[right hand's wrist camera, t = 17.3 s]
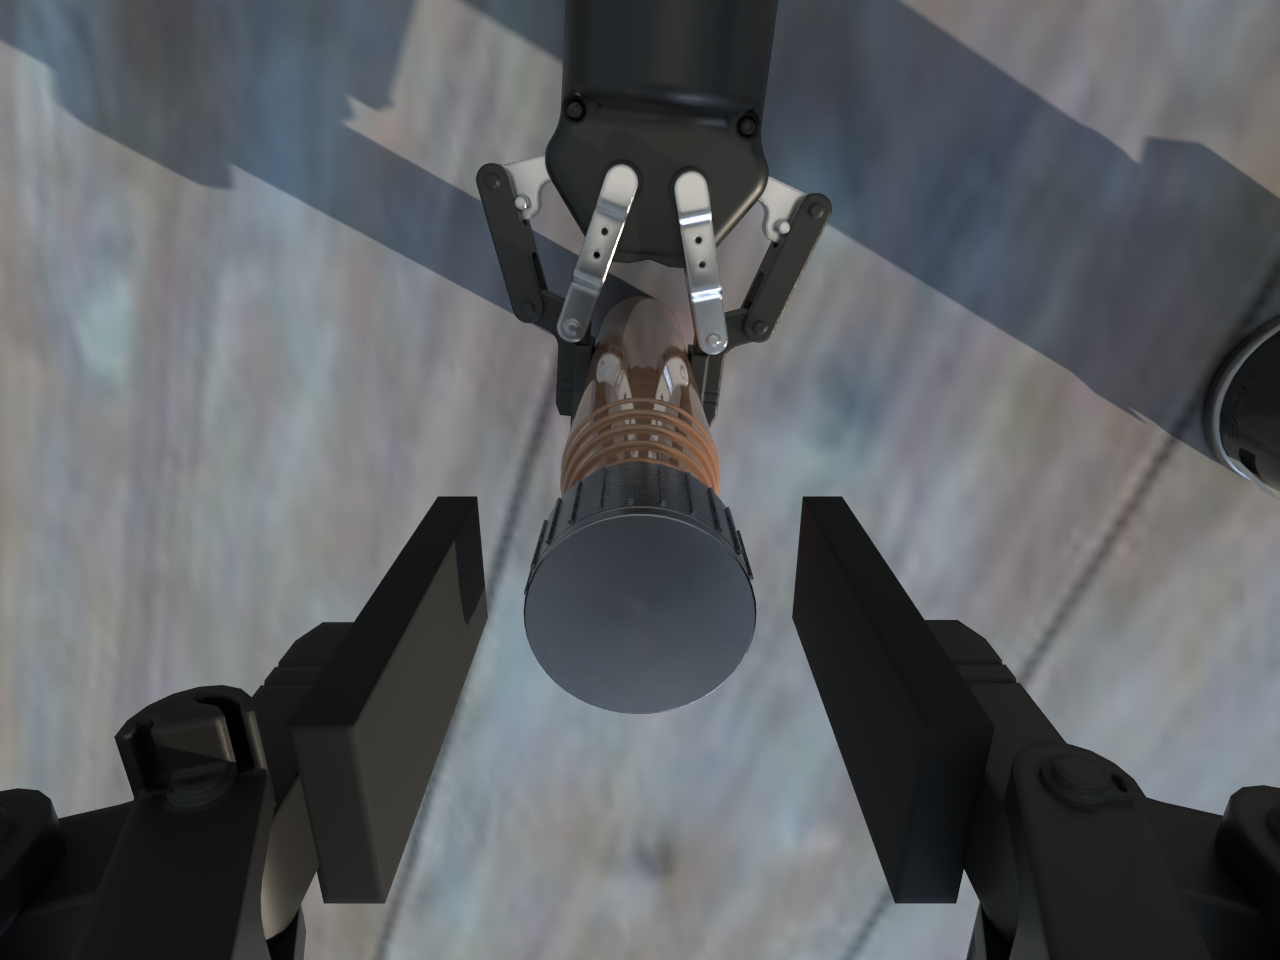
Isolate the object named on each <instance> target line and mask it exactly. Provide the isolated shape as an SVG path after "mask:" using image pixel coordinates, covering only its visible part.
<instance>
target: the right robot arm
mask: <svg viewBox="0 0 1280 960" xmlns="http://www.w3.org/2000/svg"><path fill="white" fill-rule="evenodd" d="M487 618H488V615H487V603H486V592H485V581H484V569H483V558H482V547H481V535H480V524H479V513H478V501H477V497H437V499H436V500H435V502H434V503H433V505H432V506H431V508H430V509H429V511H428V512H427V514H426V515H425V517H424V518H423V520H422V521H421V523H420V524H419V526H418V527H417V529H416V530H415V532H414V533H413V535H412V536H411V538H410V539H409V541H408V542H407V544H406V545H405V547H404V548H403V550H402V551H401V553H400V554H399V556H398V557H397V559H396V560H395V562H394V563H393V565H392V566H391V568H390V569H389V571H388V572H387V574H386V575H385V577H384V578H383V580H382V581H381V583H380V584H379V586H378V587H377V589H376V590H375V592H374V593H373V595H372V596H371V598H370V599H369V601H368V602H367V604H366V605H365V607H364V608H363V610H362V611H361V613H360V614H359V616H358V617H357V619H356V620H355V622H323V623H321V624H320V625H318V626H317V627H315V628H314V629H312V630H311V631H309V632H308V633H306V634H305V635H303V636H302V637H300V638H299V639H298V640H296V641H295V642H294V643H293V645H292V646H291V647H290V649H289V650H288V651H287V652H286V654H285V655H284V656H283V658H282V659H281V660H280V661H279V665H278V667H275V668H274V669H273V671H272V672H271V673H270V674H269V676H268V677H267V678H266V680H265V683H264V686H260V687H259V689H258V690H257V691H256V693H255V694H254V695H253V696H252V697H251V696H249V695H248V694H247V693H246V692H244V691H243V690H242V689H240V688H235V687H230V686H225V685H217V686H204V687H197V688H193V689H189V690H186V691H182V692H178V693H175V694H172V695H170V696H168V697H165V698H163V699H161V700H159V701H157V702H155V703H152V704H150V705H148V706H147V707H145V708H144V709H143V710H141V711H140V712H138V713H137V714H136V715H134V716H133V717H132V718H130V719H129V720H127V722H126V723H125V724H124V725H123V727H122V728H121V729H120V731H119V732H118V733H117V734H116V736H115V740H116V743H117V746H118V749H119V752H120V755H121V758H122V762H123V765H124V768H125V771H126V774H127V777H128V780H129V783H130V786H131V789H132V792H133V795H134V800H133V801H130V802H127V803H124V804H120V805H116V806H112V807H107V808H103V809H99V810H94V811H90V812H85V813H81V814H77V815H72V816H68V817H64V818H59V819H58V817H57V815H56V812H55V810H54V807H53V804H52V802H51V799H50V798H48V797H47V796H46V795H44V794H43V793H42V792H40V791H39V790H29V789H19V788H17V789H11V790H6V791H0V960H303V958H304V948H305V938H306V929H305V922H304V916H303V911H302V907H301V902H302V900H303V898H304V896H305V894H306V892H307V890H308V888H309V886H310V884H311V881H312V879H313V877H314V875H315V873H316V871H317V875H318V879H319V884H320V888H321V893H322V897H323V902H324V903H385V902H386V899H387V896H388V893H389V890H390V888H391V885H392V882H393V879H394V877H395V874H396V871H397V868H398V865H399V863H400V860H401V857H402V854H403V852H404V849H405V846H406V843H407V840H408V838H409V835H410V832H411V829H412V827H413V824H414V821H415V818H416V815H417V813H418V810H419V807H420V804H421V802H422V799H423V796H424V793H425V790H426V788H427V785H428V782H429V779H430V777H431V774H432V771H433V768H434V765H435V763H436V760H437V757H438V754H439V752H440V749H441V746H442V743H443V740H444V738H445V735H446V732H447V729H448V727H449V724H450V721H451V718H452V715H453V713H454V710H455V707H456V704H457V702H458V699H459V696H460V693H461V690H462V688H463V685H464V682H465V679H466V677H467V674H468V671H469V668H470V665H471V663H472V660H473V657H474V654H475V652H476V649H477V646H478V643H479V640H480V638H481V635H482V632H483V629H484V627H485V624H486V621H487ZM792 618H793V621H794V624H795V627H796V629H797V632H798V635H799V638H800V640H801V643H802V646H803V649H804V652H805V654H806V657H807V660H808V663H809V665H810V668H811V671H812V674H813V677H814V679H815V682H816V685H817V688H818V690H819V693H820V696H821V699H822V702H823V704H824V707H825V710H826V713H827V715H828V718H829V721H830V724H831V727H832V729H833V732H834V735H835V738H836V740H837V743H838V746H839V749H840V752H841V754H842V757H843V760H844V763H845V765H846V768H847V771H848V774H849V777H850V779H851V782H852V785H853V788H854V790H855V793H856V796H857V799H858V802H859V804H860V807H861V810H862V813H863V815H864V818H865V821H866V824H867V827H868V829H869V832H870V835H871V838H872V840H873V843H874V846H875V849H876V852H877V854H878V857H879V860H880V863H881V865H882V868H883V871H884V874H885V877H886V879H887V882H888V885H889V888H890V890H891V893H892V896H893V899H894V902H895V903H956V902H957V897H958V893H959V888H960V884H961V879H962V875H963V870H964V869H965V872H966V874H967V876H968V878H969V880H970V882H971V884H972V886H973V888H974V890H975V892H976V894H977V896H978V899H979V901H980V903H979V907H978V911H977V916H976V920H975V924H974V928H973V933H972V937H971V941H970V945H969V950H968V954H967V958H966V960H1280V788H1276V787H1270V786H1265V785H1261V786H1251V787H1242V788H1241V789H1240V790H1238V791H1237V792H1235V793H1234V794H1233V795H1231V797H1230V799H1229V802H1228V804H1227V807H1226V810H1225V812H1224V815H1223V816H1222V815H1217V814H1213V813H1208V812H1204V811H1200V810H1195V809H1191V808H1186V807H1182V806H1178V805H1173V804H1169V803H1164V802H1160V801H1157V800H1153V799H1150V798H1147V797H1146V796H1145V795H1144V793H1143V792H1142V790H1141V789H1140V787H1139V786H1138V784H1137V783H1136V781H1135V780H1134V779H1133V778H1132V777H1131V776H1129V775H1128V774H1127V773H1126V772H1125V771H1123V770H1122V769H1121V768H1120V767H1119V766H1117V765H1116V764H1115V763H1113V762H1111V761H1109V760H1107V759H1106V758H1104V757H1102V756H1100V755H1098V754H1096V753H1094V752H1092V751H1090V750H1087V749H1083V748H1080V747H1077V746H1074V745H1070V744H1067V743H1066V742H1065V741H1064V739H1063V738H1062V737H1061V736H1060V734H1059V733H1058V732H1057V730H1056V729H1055V728H1054V727H1053V725H1052V724H1051V723H1050V721H1049V720H1048V719H1047V718H1046V716H1045V715H1044V714H1043V712H1042V711H1041V710H1040V709H1039V707H1038V706H1037V705H1036V703H1035V702H1034V701H1033V700H1032V698H1031V697H1030V696H1029V694H1028V693H1027V692H1026V691H1025V689H1024V688H1023V687H1022V685H1021V684H1020V683H1016V678H1015V676H1014V675H1013V674H1012V673H1011V671H1010V670H1009V669H1008V667H1007V666H1006V665H1003V664H1002V660H1001V658H1000V657H999V656H998V655H997V653H996V652H995V651H994V649H993V648H992V647H991V646H990V644H989V643H988V642H987V640H986V639H985V638H983V637H982V636H980V635H979V634H978V633H976V632H975V631H973V630H972V629H970V628H969V627H967V626H966V625H964V624H963V623H961V622H960V621H958V620H924V619H923V617H922V616H921V614H920V613H919V611H918V610H917V608H916V607H915V605H914V604H913V602H912V601H911V599H910V598H909V596H908V595H907V593H906V592H905V590H904V589H903V587H902V586H901V584H900V583H899V581H898V580H897V578H896V577H895V575H894V574H893V572H892V571H891V569H890V568H889V566H888V565H887V563H886V562H885V560H884V559H883V557H882V556H881V554H880V553H879V551H878V550H877V548H876V547H875V545H874V544H873V542H872V541H871V539H870V538H869V536H868V535H867V533H866V532H865V530H864V529H863V527H862V526H861V524H860V523H859V521H858V520H857V518H856V517H855V515H854V514H853V512H852V511H851V509H850V508H849V506H848V505H847V503H846V502H845V500H844V499H843V497H803V501H802V513H801V524H800V535H799V547H798V558H797V569H796V581H795V592H794V603H793V615H792Z"/></svg>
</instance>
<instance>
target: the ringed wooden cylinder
mask: <svg viewBox="0 0 1280 960" xmlns="http://www.w3.org/2000/svg"><path fill="white" fill-rule="evenodd" d="M630 462H634V463H653V464H659V463H661V464H663V465H665V466H669V467H672V468H675V469H678V470H681V471H683V472H689V473H690V474H691V476H693V477H695V478H697V479H698V480H700V481H701V482H702V483H704V484H705V485H706V486H708V487H709V488H710V487H712V488H713V490H714V493H715V494H716V495H717V496H718V495H719V486H720V479H719V463H718V457H717V453H716V449H715V446H714V442H713V439H712V436H711V432H710V429H709V425H708V422H707V419H706V415H705V412H704V409H703V405H702V402H701V398H700V395H699V392H698V388H697V385H696V382H695V378H694V375H693V372H692V368H691V365H690V361H689V358H688V355H687V351H686V348H685V345H684V341H683V338H682V334H681V331H680V328H679V325H678V322H677V319H676V317H675V316H674V314H673V313H672V311H671V310H670V309H669V308H668V307H667V306H666V305H665V304H663V303H662V302H660V301H658V300H656V299H654V298H650V297H645V296H635V297H630V298H627V299H624V300H622V301H620V302H618V303H617V304H616V305H614V306H613V307H612V308H611V309H610V310H609V311H608V313H607V314H606V316H605V317H604V319H603V322H602V325H601V328H600V331H599V335H598V338H597V341H596V345H595V348H594V352H593V355H592V358H591V362H590V365H589V368H588V372H587V375H586V379H585V382H584V385H583V389H582V392H581V395H580V399H579V402H578V406H577V409H576V412H575V416H574V419H573V423H572V426H571V429H570V433H569V436H568V439H567V443H566V446H565V450H564V453H563V457H562V464H561V478H560V485H561V495H562V496H563V495H564V494H565V493H566V492H567V491H568V490H569V489H570V488H571V487H572V486H574V485H575V484H576V481H578V480H579V479H580V481H581V480H582V479H583V478H585V477H587V476H589V475H591V474H593V473H595V472H597V471H600V470H601V468H604V467H605V468H607V467H611V466H615V465H620V464H627V463H630Z"/></svg>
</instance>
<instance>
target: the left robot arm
mask: <svg viewBox="0 0 1280 960" xmlns="http://www.w3.org/2000/svg"><path fill="white" fill-rule="evenodd" d="M777 5H778V0H566V5H565V28H564V52H563V75H562V98H561V113H560V119H559V122H558V126H557V128H556V130H555V133H554V134H553V136H552V138H551V139H550V141H549V143H548V145H547V148H546V152H545V155H541V156H537V157H533V158H529V159H525V160H521V161H517V162H513V163H509V164H505V165H502V164H498V163H489V164H485V165H484V166H482V167H481V168H480V169H479V171H478V173H477V176H476V183H477V187H478V190H479V194H480V197H481V201H482V204H483V208H484V211H485V215H486V218H487V222H488V225H489V228H490V232H491V235H492V239H493V242H494V246H495V249H496V253H497V256H498V260H499V263H500V267H501V270H502V274H503V277H504V281H505V284H506V288H507V291H508V294H509V298H510V301H511V305H512V308H513V312H514V314H515V316H516V317H517V318H518V319H519V320H520V321H522V322H525V323H535V324H537V325H539V326H541V327H543V328H545V329H547V330H549V331H550V332H552V333H553V334H554V336H555V337H556V339H557V341H558V369H557V391H556V405H557V408H558V411H559V413H560V415H566V416H571V426H572V423H573V419H574V416H575V412H576V409H577V406H578V402H579V399H580V395H581V392H582V389H583V385H584V382H585V379H586V375H587V372H588V368H589V365H590V362H591V358H592V355H593V352H594V345H595V337H593V336H590V335H591V319H592V316H593V313H594V310H595V307H596V305H597V302H598V299H599V296H600V293H601V290H602V288H603V285H604V282H605V279H606V276H607V274H608V271H609V268H610V265H611V262H623V263H631V262H637V261H642V260H653V261H655V262H658V263H660V264H663V265H666V266H668V267H678V268H683V270H684V276H685V282H686V287H687V292H688V297H689V303H690V310H691V316H692V322H693V328H694V333H695V334H694V343H693V345H688V352H687V355H688V358H689V361H690V365H691V368H692V372H693V375H694V378H695V382H696V385H697V388H698V392H699V395H700V398H701V402H702V405H703V409H704V412H705V415H706V419H707V422H708V425H709V427H711V425H712V424H713V422H714V420H715V418H716V416H717V409H718V401H719V393H720V386H721V378H722V370H723V362H724V359H725V356H726V354H727V353H728V352H729V351H730V350H731V349H732V348H734V347H736V346H739V345H742V344H746V343H750V342H764V341H766V340H768V339H769V338H770V337H771V336H772V334H773V332H774V330H775V328H776V326H777V324H778V322H779V320H780V318H781V316H782V314H783V312H784V310H785V308H786V306H787V304H788V302H789V300H790V298H791V296H792V293H793V291H794V289H795V287H796V285H797V283H798V281H799V279H800V277H801V275H802V273H803V271H804V269H805V267H806V265H807V263H808V261H809V259H810V257H811V255H812V252H813V250H814V248H815V246H816V244H817V242H818V240H819V238H820V236H821V234H822V232H823V230H824V228H825V226H826V224H827V222H828V220H829V218H830V215H831V211H832V207H831V203H830V201H829V199H828V198H827V197H826V196H825V195H823V194H819V193H804V192H802V191H800V190H798V189H795V188H793V187H791V186H789V185H787V184H785V183H783V182H781V181H778V180H776V179H774V178H772V177H770V176H769V171H768V165H767V162H766V159H765V156H764V153H763V150H762V145H761V125H762V117H763V110H764V102H765V95H766V87H767V80H768V72H769V65H770V58H771V50H772V43H773V35H774V28H775V20H776V12H777ZM550 181H552V182H553V184H554V186H555V187H556V189H557V191H558V192H559V194H560V196H561V197H562V199H563V201H564V202H565V204H566V206H567V207H568V209H569V211H570V212H571V214H572V216H573V217H574V219H575V221H576V223H577V224H578V226H579V228H580V229H581V231H582V233H583V234H584V236H585V240H584V243H583V246H582V249H581V252H580V255H579V258H578V261H577V264H576V267H575V270H574V273H573V277H572V281H571V284H570V287H569V290H568V293H567V296H566V299H564V298H562V297H560V296H558V295H556V294H554V293H552V292H550V291H548V289H547V285H546V281H545V277H544V274H543V270H542V266H541V262H540V259H539V255H538V251H537V248H536V244H535V240H534V236H533V233H532V229H531V225H530V221H529V218H533V217H535V216H536V215H537V214H538V213H539V212H540V210H541V207H542V199H541V193H542V190H543V188H544V186H545V185H546V184H547V183H548V182H550ZM757 201H759V202H760V203H761V205H762V206H763V209H764V220H763V223H762V231H763V233H764V235H765V237H766V238H767V239H769V240H771V244H770V246H769V248H768V250H767V252H766V254H765V256H764V259H763V261H762V263H761V265H760V267H759V269H758V272H757V274H756V276H755V278H754V280H753V282H752V284H751V287H750V289H749V291H748V293H747V295H746V297H745V299H744V302H743V304H742V306H741V308H740V309H736V310H733V311H729V312H725V313H724V307H723V300H722V286H721V279H720V272H719V265H718V259H717V252H716V248H717V247H718V245H719V244H720V243H721V242H722V241H723V240H724V239H725V237H726V236H727V235H728V234H729V233H730V232H731V230H732V229H733V228H734V227H735V226H736V225H737V224H738V222H739V221H740V220H741V219H742V218H743V217H744V215H745V214H746V213H747V212H748V211H749V210H750V209H751V207H752V206H753V205H754V204H755V203H756V202H757ZM1204 429H1205V435H1206V439H1207V442H1208V445H1209V447H1210V449H1211V451H1212V452H1213V454H1214V455H1215V457H1216V458H1217V459H1218V460H1219V461H1220V463H1222V464H1223V465H1224V466H1225V467H1226V468H1228V469H1229V470H1231V471H1232V472H1234V473H1236V474H1238V475H1240V476H1242V477H1245V478H1247V479H1249V480H1251V481H1252V482H1254V483H1255V484H1256V485H1257V486H1258V487H1259V488H1260V489H1261V490H1262V491H1263V492H1265V493H1268V494H1270V495H1272V496H1274V497H1276V498H1278V497H1277V496H1276V495H1275V494H1274V493H1272V492H1271V491H1270V490H1269V489H1268V488H1267V487H1266V486H1269V487H1271V488H1273V489H1275V490H1277V491H1279V492H1280V317H1278V318H1276V319H1274V320H1272V321H1270V322H1268V323H1267V324H1265V325H1264V326H1262V327H1260V328H1259V329H1258V330H1256V331H1255V332H1254V333H1252V334H1251V335H1250V336H1249V337H1247V338H1246V339H1245V340H1244V341H1243V342H1242V343H1241V344H1240V345H1239V346H1238V347H1237V348H1236V349H1235V350H1234V351H1233V352H1232V353H1231V355H1230V356H1229V357H1228V358H1227V360H1226V361H1225V362H1224V364H1223V365H1222V367H1221V368H1220V370H1219V372H1218V373H1217V375H1216V377H1215V379H1214V381H1213V383H1212V386H1211V388H1210V390H1209V393H1208V397H1207V400H1206V405H1205V411H1204ZM1265 485H1266V486H1265ZM1278 499H1279V498H1278Z"/></svg>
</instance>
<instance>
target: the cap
mask: <svg viewBox="0 0 1280 960" xmlns="http://www.w3.org/2000/svg"><path fill="white" fill-rule="evenodd" d="M530 568H531V570H530V574H529V577H528V581H527V584H526V587H525V591H524V595H526V597H525V604H524V624H525V629H526V634H527V638H528V641H529V644H530V646H531V649H532V651H533V653H534V655H535V657H536V659H537V660H538V662H539V664H540V665H541V666H542V668H543V669H544V670H545V672H546V673H547V674H548V675H549V676H550V677H551V678H552V679H553V680H554V681H555V682H556V683H557V684H558V685H559V686H561V687H562V688H563V689H564V690H565V691H567V692H568V693H570V694H572V695H573V696H575V697H576V698H578V699H580V700H582V701H584V702H586V703H589V704H591V705H594V706H597V707H599V708H602V709H606V710H610V711H615V712H621V713H630V714H650V713H660V712H665V711H670V710H674V709H678V708H681V707H684V706H687V705H689V704H691V703H694V702H696V701H698V700H700V699H702V698H704V697H705V696H707V695H708V694H710V693H712V692H713V691H715V690H716V689H717V688H718V687H720V686H721V685H722V684H723V683H724V682H725V681H726V680H727V679H728V678H729V677H730V676H731V675H732V674H733V673H734V672H735V670H736V669H737V668H738V666H739V665H740V664H741V662H742V660H743V659H744V657H745V655H746V653H747V651H748V649H749V646H750V644H751V641H752V639H753V634H754V630H755V624H756V601H755V596H754V592H753V588H752V584H751V581H750V580H753V579H754V578H753V575H752V571H751V568H750V565H749V561H748V558H747V555H746V551H745V548H744V544H743V541H742V538H741V534H740V531H739V530H738V531H736V528H735V524H734V521H733V517H732V514H731V510H730V508H729V507H727V508H726V507H725V505H724V504H723V503H722V501H721V500H720V499H719V497H718V496H717V495H716V494H715V493H714V490H713V488H712V487H710V488H709V487H708V486H706V485H705V484H704V483H702V482H701V481H700V480H698V479H697V478H695V477H693V476H691V474H690V473H689V472H683V471H681V470H678V469H675V468H672V467H669V466H665V465H663V464H661V463H659V464H653V463H634V462H630V463H627V464H620V465H615V466H611V467H607V468H605V467H604V468H601V470H600V471H597V472H595V473H593V474H591V475H589V476H587V477H585V478H583V479H582V480H581V481H580V479H579V480H578V481H576V484H575V485H574V486H572V487H571V488H570V489H569V490H568V491H567V492H566V493H565V494H564V495H563V496H562V498H561V499H560V498H558V499H557V500H556V504H555V507H554V509H553V510H552V512H551V514H550V516H549V518H548V521H547V520H544V522H543V525H542V529H541V532H540V536H539V539H538V542H537V546H536V549H535V553H534V556H533V559H532V563H531V566H530Z"/></svg>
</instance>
